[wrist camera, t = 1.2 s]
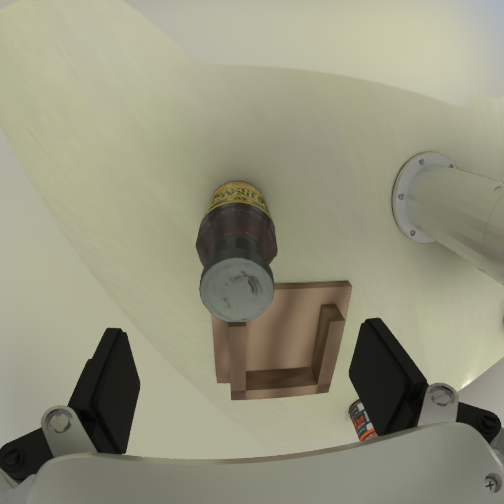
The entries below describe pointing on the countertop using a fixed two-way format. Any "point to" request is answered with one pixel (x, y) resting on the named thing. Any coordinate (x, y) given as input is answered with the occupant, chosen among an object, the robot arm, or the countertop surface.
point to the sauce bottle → (236, 253)
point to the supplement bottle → (362, 422)
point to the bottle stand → (284, 343)
